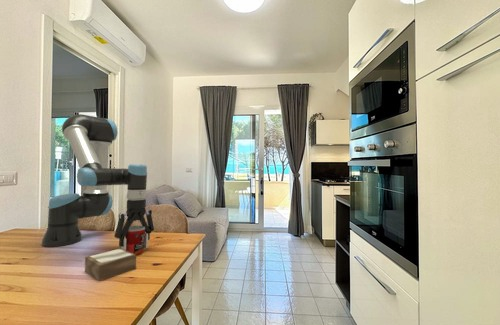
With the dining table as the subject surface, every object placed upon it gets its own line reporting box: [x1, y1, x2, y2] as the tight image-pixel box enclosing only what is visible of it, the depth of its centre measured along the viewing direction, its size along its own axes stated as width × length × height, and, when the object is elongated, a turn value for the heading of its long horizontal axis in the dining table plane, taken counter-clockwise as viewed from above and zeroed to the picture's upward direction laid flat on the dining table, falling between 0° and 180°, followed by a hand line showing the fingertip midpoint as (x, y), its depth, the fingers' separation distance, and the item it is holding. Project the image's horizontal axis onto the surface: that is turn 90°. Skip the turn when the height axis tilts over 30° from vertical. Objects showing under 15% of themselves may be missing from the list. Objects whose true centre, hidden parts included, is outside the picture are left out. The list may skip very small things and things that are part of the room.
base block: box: [84, 247, 137, 282], centre depth 82 cm, size 12×12×5 cm
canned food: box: [125, 225, 146, 256], centre depth 99 cm, size 8×8×11 cm
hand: (134, 250), depth 99 cm, fingers open, 9 cm apart
